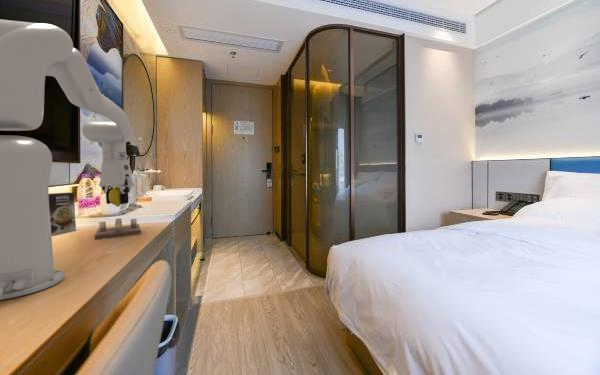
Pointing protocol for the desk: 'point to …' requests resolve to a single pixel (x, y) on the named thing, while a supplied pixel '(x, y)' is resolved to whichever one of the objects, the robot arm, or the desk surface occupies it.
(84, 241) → the desk surface
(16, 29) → the robot arm
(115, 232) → the peg cradle
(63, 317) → the desk surface
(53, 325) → the desk surface
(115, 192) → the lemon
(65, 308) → the desk surface
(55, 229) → the coffee box
